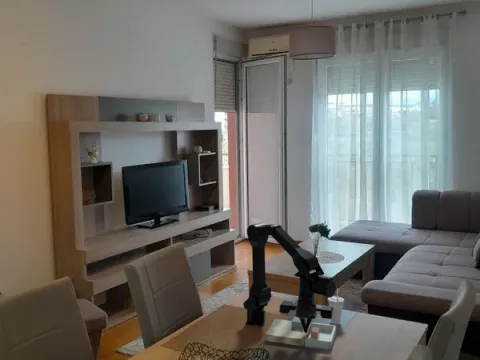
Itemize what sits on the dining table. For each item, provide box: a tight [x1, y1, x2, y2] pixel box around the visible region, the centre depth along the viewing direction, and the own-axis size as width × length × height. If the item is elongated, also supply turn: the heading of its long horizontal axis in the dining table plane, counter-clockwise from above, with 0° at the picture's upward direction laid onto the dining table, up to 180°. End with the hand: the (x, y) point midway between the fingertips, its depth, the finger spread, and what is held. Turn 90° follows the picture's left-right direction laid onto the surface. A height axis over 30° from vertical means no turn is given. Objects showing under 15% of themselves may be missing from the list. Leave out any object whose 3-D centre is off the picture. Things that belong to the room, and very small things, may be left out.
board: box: [264, 318, 312, 347], centre depth 185 cm, size 14×15×2 cm
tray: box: [304, 321, 337, 351], centre depth 181 cm, size 9×15×3 cm, turn 162°
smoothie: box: [327, 287, 345, 325], centre depth 196 cm, size 6×6×14 cm
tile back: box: [291, 316, 303, 329], centre depth 187 cm, size 4×4×2 cm
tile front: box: [310, 326, 320, 339], centre depth 178 cm, size 4×4×2 cm
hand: (305, 332), depth 179 cm, fingers closed
